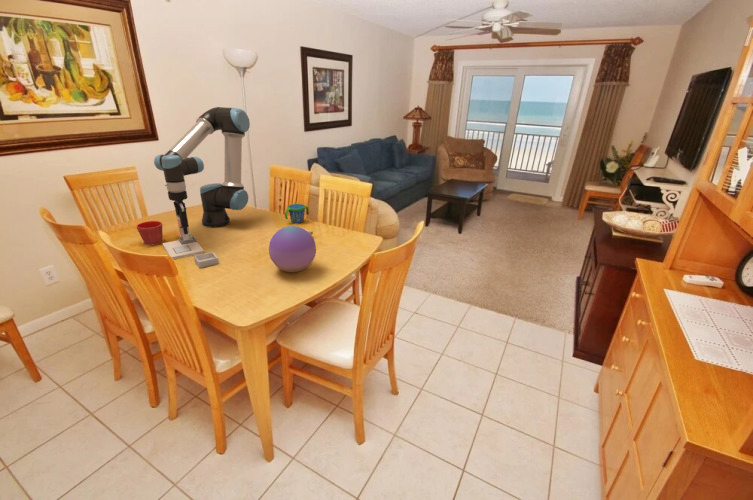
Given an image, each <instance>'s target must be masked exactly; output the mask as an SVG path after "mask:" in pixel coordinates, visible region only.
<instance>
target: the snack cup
mask: <svg viewBox="0 0 753 500" xmlns="http://www.w3.org/2000/svg"><path fill="white" fill-rule="evenodd" d="M288 212H289V218H290V222H291V223H292V222H293V223H292V224H295V223H299V224H302V223H301V222H303V223H304V222H305V213H306V215H307V216H308V215H309V214H310V211H309V207H308V206H307V205H305V204H303V203H292V204H289V205H288V206H287V208H286V209H285V212H284V218H285V219H286V220H288V219H289V218H288Z"/></svg>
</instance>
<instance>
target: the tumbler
mask: <svg viewBox="0 0 753 500" xmlns="http://www.w3.org/2000/svg"><path fill="white" fill-rule="evenodd" d="M176 221H177V226H178V232H179V236H180V237H181V241H184V240H183V235H182V229H181V228H180V227H181V221H180V217H179V215H177V216H176ZM188 230H189V231H190V229H189V227H188ZM190 234H191V233H190ZM190 234H189V236H190ZM180 237H179V238H180ZM185 241H188V240H185Z"/></svg>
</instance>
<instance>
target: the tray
mask: <svg viewBox="0 0 753 500" xmlns="http://www.w3.org/2000/svg"><path fill="white" fill-rule="evenodd" d="M193 257H194V262H195V265H197V266H198V269H203V268H207V267H211V266H217V265H219V264H220V263H219V257H218V256H217V255H216V254H215V253H214V252H213V251H210V252H206V253H205V252H204V253H201V254H197V255H193Z"/></svg>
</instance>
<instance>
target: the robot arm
mask: <svg viewBox="0 0 753 500" xmlns="http://www.w3.org/2000/svg"><path fill="white" fill-rule="evenodd" d="M250 126H251V124H250V119H249V116H248V115H247V113H246V110H245V111H244V110H243V109H242V108H237V107H225V106H224V107H221V106H216V107H213V108H209V109H208V110H207V111H205V112H203V113H202V114H201V115H199V117H198V118H196V120H195V124H194V125H192V127H191V128H189V130H188V131H187V132H186V133H185V134H184V135H183V136H182V137H181V138H180V139H179V140H178V141H177V142H176V143H175V144H174V145H173V146H172V147H171V148H170V149H169V150H168V151H166V153H164V154H158V155H156V156H155V157H154V159H153V163H154V166H155V167H156V169H157V170H159V171H163V176H164V179H165V184H164V187H166V190H167V195H168V200H170V201H173V206H174V210H175V215H176V216H177V215H179V217H180V221H181V227H180V228H181V229H182V235H183V240H184V241H185V240H190V236H189V233H190V229H189V230H188V228H189V227H190V226H189V221H188V220H189V219H188V215H187V214H188V213H187V207H186V203H185V202H184V201H185V200H187V199H188V193H187V186H186V180H185V177H186V176H189V175H195V174H199V173H202V172H203V171H204V169H205V164H204V161H203V160H202V159H201V158H200V157H198V156H191V157H190V155H191V154H192V153H193V152H194V150H195V149H196V148H197V147H198V146H199V145H200V144H201V143H202V142H203V141H204V140H205V139H206V138H207V137H208V136H209V135H212V134H214V132H217V131H221V134H222V135H223V137H224V182H222V183H210V184H209V183H208V184H203V185H201V186H200V188H199V193H200V195H199V196H200V198H201V199H200V200H201V206H202V210H203V213H202V216H201V225H202V226H203V227H206V228H221V227H225V226H228V225H229V224H231V219H230V216H229V214H228V213H227V211H226V209H228V210H232V211H241V210H243V209H244V208H246V206H247V204H248V202H249V193H248V191H247V190H245V186H244V184H243V183H242V154H243V153H242V152H243V151H242V146H243V141H242V140H243V138H244V137H245V136H246V132H248V131H249V129H250Z"/></svg>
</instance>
